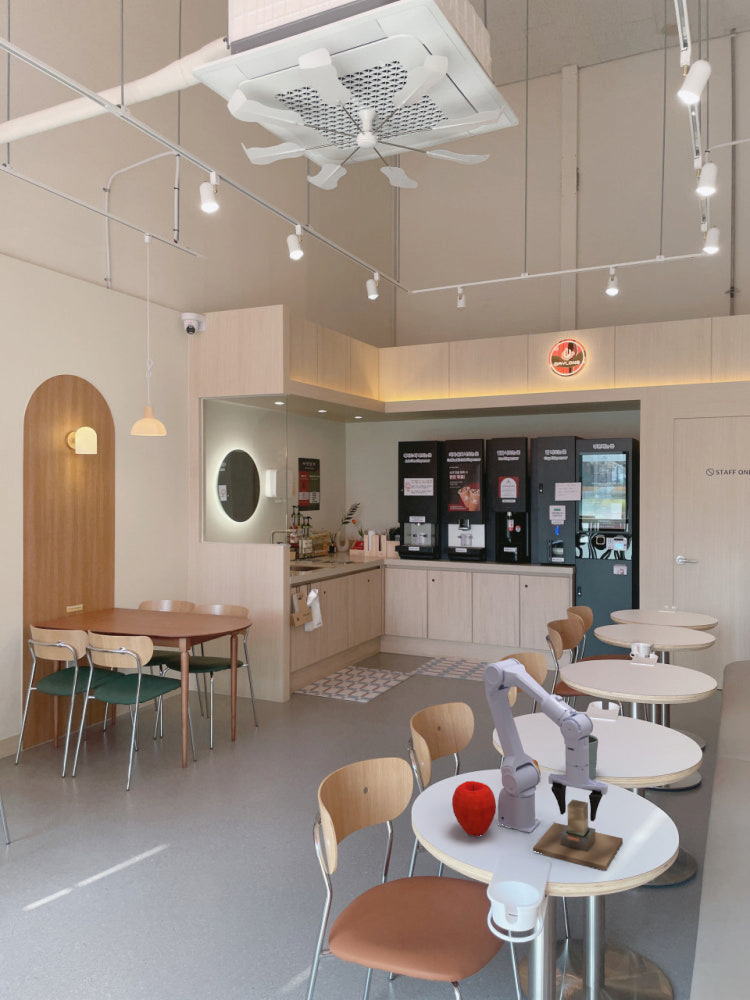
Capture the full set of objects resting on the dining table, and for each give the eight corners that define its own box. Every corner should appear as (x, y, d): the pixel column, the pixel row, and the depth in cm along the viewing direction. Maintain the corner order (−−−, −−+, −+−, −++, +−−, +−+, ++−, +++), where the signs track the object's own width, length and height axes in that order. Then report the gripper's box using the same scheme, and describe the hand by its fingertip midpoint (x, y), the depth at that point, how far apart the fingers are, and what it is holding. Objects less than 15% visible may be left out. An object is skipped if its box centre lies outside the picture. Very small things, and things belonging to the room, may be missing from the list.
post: (567, 832, 189) (567, 805, 189) (572, 826, 193) (572, 799, 192) (583, 836, 187) (583, 808, 187) (588, 829, 190) (588, 802, 190)
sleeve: (560, 846, 188) (559, 834, 188) (569, 834, 195) (569, 822, 194) (587, 852, 185) (586, 840, 185) (595, 840, 191) (595, 828, 191)
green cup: (564, 780, 232) (563, 741, 232) (565, 768, 242) (565, 731, 242) (598, 783, 229) (598, 744, 229) (598, 771, 239) (598, 733, 239)
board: (532, 852, 188) (532, 847, 188) (554, 826, 201) (554, 822, 201) (605, 871, 178) (605, 866, 178) (622, 842, 192) (622, 838, 192)
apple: (444, 827, 202) (443, 778, 202) (482, 820, 206) (482, 771, 206) (464, 847, 191) (463, 795, 191) (505, 839, 195) (504, 788, 195)
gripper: (610, 763, 189) (611, 816, 189) (554, 752, 197) (555, 804, 197) (602, 772, 183) (603, 827, 183) (545, 761, 191) (546, 814, 191)
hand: (577, 816), depth 190 cm, fingers open, 7 cm apart
